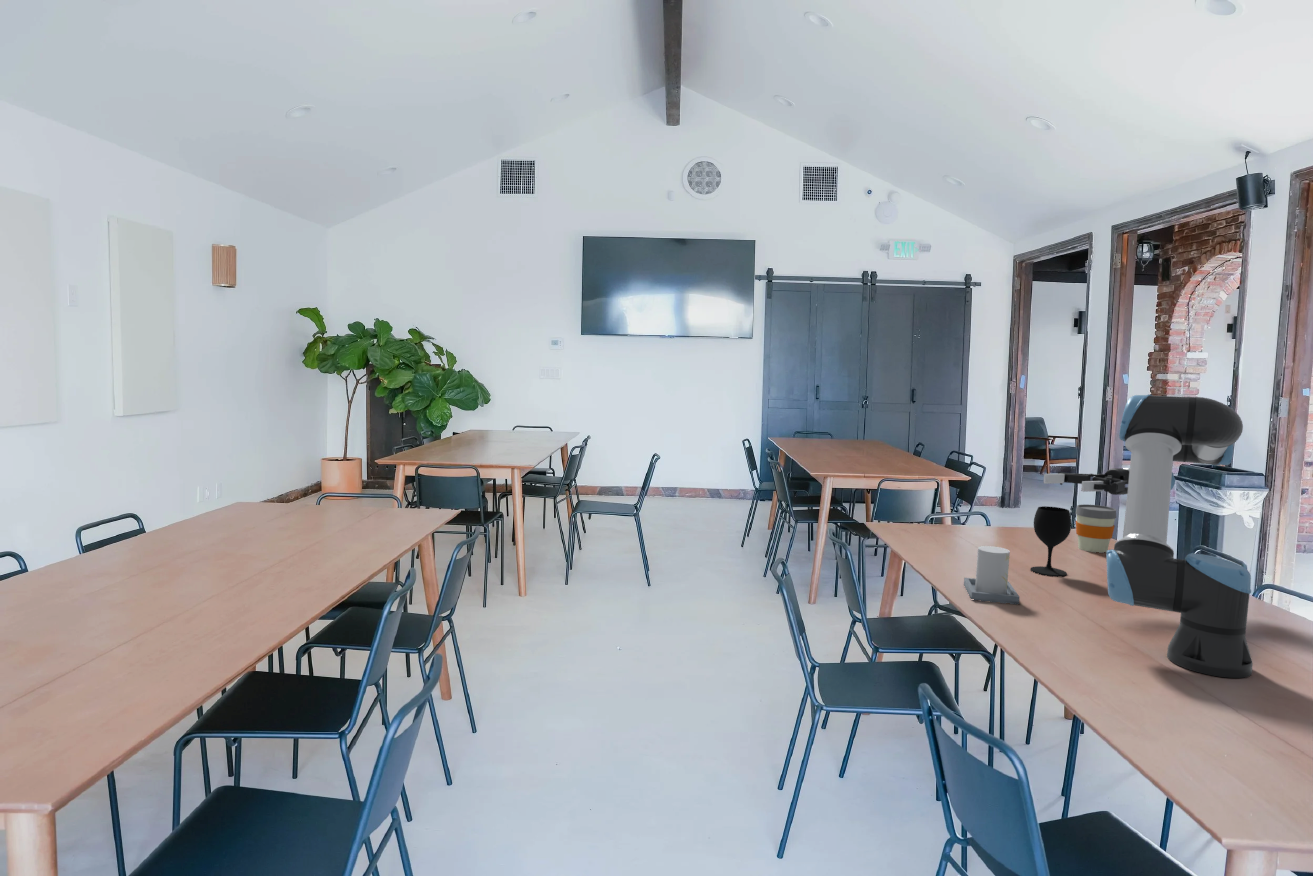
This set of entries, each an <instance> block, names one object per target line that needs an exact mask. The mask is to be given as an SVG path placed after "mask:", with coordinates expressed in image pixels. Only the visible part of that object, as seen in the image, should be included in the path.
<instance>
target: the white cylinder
mask: <svg viewBox="0 0 1313 876" xmlns="http://www.w3.org/2000/svg"><path fill="white" fill-rule="evenodd" d="M1010 553H1011V551H1010V550H1009V549H1007V548H1004V547H1000V546H993V545H991V546H990V545H982V546H981V545H980V546H978V547H977V555H976V557H977V558H976V571H975V579H976V583H975V591H976V592H985V593H995V594H1007V582H1009V581H1008V580H1009V566H1010Z"/></svg>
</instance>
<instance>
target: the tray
mask: <svg viewBox="0 0 1313 876" xmlns="http://www.w3.org/2000/svg"><path fill="white" fill-rule="evenodd" d="M975 583H976V578H975V577H974V578H972V577H964V578H963V587H964V586H965V587H964V588H966V589H965V591H966V590H967V591H966V592H968V593H967V595H968V594H969V595H968V596H970V597H969V598H971V599H974V600H973V601H975V600H981V601H980V602H985V601H990V602H989V603H996V602H1000V603H999V604H1006V603H1010V604H1009V605H1017V604H1019V605H1020V595H1019V593H1017V591H1016V590H1015V587H1014V586H1013V585H1012V584H1011V582H1010V581H1008V582H1007V594H995V593H985V592H976V591H975ZM971 599H970V600H971Z"/></svg>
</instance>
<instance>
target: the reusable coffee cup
mask: <svg viewBox="0 0 1313 876" xmlns="http://www.w3.org/2000/svg"><path fill="white" fill-rule="evenodd" d="M1075 515H1076V520H1075V531H1076V535H1077V544H1078V545H1077V546H1078V547H1077V548H1078V549H1079V550H1081V551H1085V552H1088V553H1096V552H1099V553H1102V554H1104V552H1105V553H1106V552H1107V550H1109V545H1110V542H1111V539H1113V536H1114V531H1115V527H1116V526H1115V521H1116V519H1117V509H1116V508H1114V507H1111V506H1110V507H1109V506H1106V505H1099V504H1077V505H1076V510H1075Z"/></svg>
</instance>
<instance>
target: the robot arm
mask: <svg viewBox="0 0 1313 876" xmlns="http://www.w3.org/2000/svg"><path fill="white" fill-rule="evenodd" d="M1119 427H1120V428H1119V434H1118V438H1119V440H1120V441H1123V442H1124V445H1125V448H1126V449H1127V450H1128V451H1129V452H1130V453H1131V454H1130V462H1129V463H1130V464H1129V467H1125V468H1124V467H1123V468H1122V467H1121V468H1117V467H1116V468H1110V469H1107V471H1106V472H1105V473H1098V474H1097V473H1096V474H1094V473H1078V472H1077V473H1074V472H1061V471H1060V472H1057V473H1044V474H1043V484H1046V485H1047V484H1048V485H1049V484H1053V485H1054V484H1059V485H1061V486H1062V485H1063V484H1077V485H1081V490H1080V491H1081V492H1083V493H1084V492H1107V493H1109V494H1111V495H1112V496H1113V495H1114V496H1116V495H1117V496H1119V495H1120V496H1121V495H1126V503H1125V511H1124V524H1123V530H1122V531H1123V534H1122V538H1120V539H1119V540H1117V541H1115V542H1114V547H1113V549H1108V550H1107V552H1105V553H1106V554H1105V555H1106V558H1105V559H1106V580H1107V582H1106V583H1107V593H1108V597H1109V598H1110V599H1111V600H1112V601H1114V602H1116V603H1121V604H1124V605H1128V606H1129V605H1130V607H1131V606H1132V607H1135V606H1137V607H1143V608H1147V609H1148V608H1149V609H1150V608H1151V609H1155V610H1161V611H1166V612H1172V613H1173V612H1174V613H1178V614H1179V613H1180V617H1179V618H1180V620H1179V624H1178V627H1177V628H1176V630H1175V631H1174V634H1173V637H1172V638H1171V640H1170V642H1169V643H1168V647H1167V652H1166V653H1167V654H1166V658H1167V659H1168V660H1169V661H1170V662H1172V663H1173V664H1175V665H1177V666H1179V667H1182V668H1185V669H1186V670H1190V671H1192V672H1193V671H1194V672H1196V673H1200V674H1203V675H1209V676H1214V677H1220V678H1227V679H1231V678H1232V679H1243V678H1248V677H1250V676H1251V675H1252V673H1253V666H1254V665H1253V659H1252V656H1251V653H1250V649H1249V645H1248V641H1247V637H1246V632H1247V630H1246V629H1247V626H1248V625H1247V624H1248V611H1249V603H1250V602H1249V601H1250V594H1252V589H1251V583H1252V582H1251V581H1252V576H1251V573H1250V571H1249V570H1248V569H1247V568H1246V567H1245V566H1243V565H1240V564H1238V563H1236V562H1234V561H1231V560H1227V559H1224V558H1221V557H1217V556H1212V555H1209V554H1203V553H1199V554H1198V553H1191V552H1190V553H1188V554H1187V555H1186V556H1185V558H1184V559H1179V558H1175V557H1174V555H1175V552H1174V549H1173V548H1172V547H1171V546H1170V545H1169V544H1167V541H1168V527H1169V514H1170V513H1169V512H1170V501H1171V491H1172V490H1173V489H1174V487H1175V484H1176V478H1175V476H1174V473H1173V463H1174V462H1177V463H1178V462H1179V463H1192V464H1201V465H1202V464H1205V465H1213V466H1229V465H1230V464H1231V463H1232V460H1233V454H1234V444H1235V443H1237V441H1238V440H1239V438H1241V436H1242V433H1243V431H1244V430H1243V429H1244V425H1243V420H1242V419H1241V417H1240V415H1239V414H1238V413H1237V411H1235V410H1234V409H1233V408H1231V407H1230V406H1229V405H1228V404H1227V405H1226V404H1225V403H1222V402H1221V401H1218V400H1215V399H1213V398H1207V397H1201V396H1175V395H1173V396H1169V395H1153V394H1150V393H1149V394H1140V395H1139V394H1136V395H1132V396H1130V397H1129V398H1128V399H1127V401H1126V404H1125V406H1124V410H1123V413H1122V418H1121V423H1120V425H1119Z"/></svg>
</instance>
